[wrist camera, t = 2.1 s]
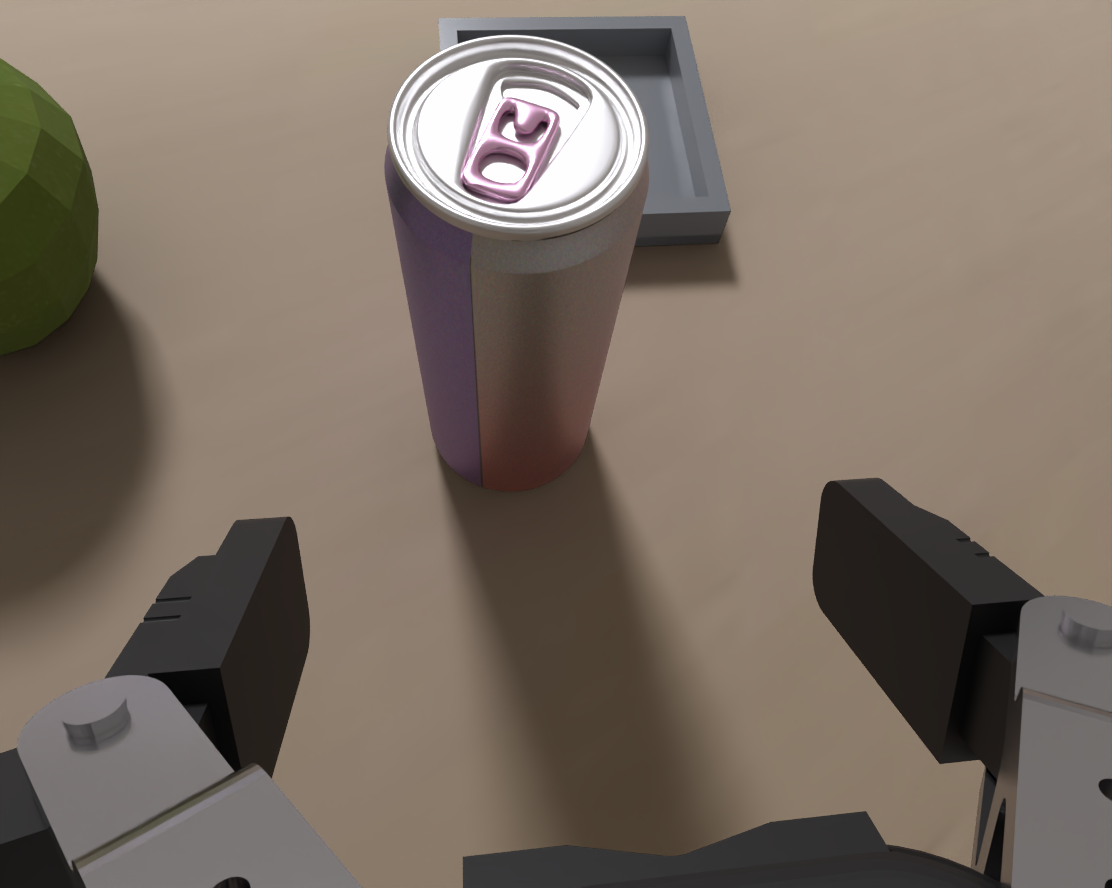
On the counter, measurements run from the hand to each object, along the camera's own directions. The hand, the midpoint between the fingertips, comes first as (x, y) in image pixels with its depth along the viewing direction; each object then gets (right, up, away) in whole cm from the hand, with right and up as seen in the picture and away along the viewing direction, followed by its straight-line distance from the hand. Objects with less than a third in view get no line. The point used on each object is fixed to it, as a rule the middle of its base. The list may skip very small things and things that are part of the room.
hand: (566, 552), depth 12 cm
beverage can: (-2, +2, +19) cm, 19 cm away
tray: (+1, +15, +24) cm, 29 cm away
